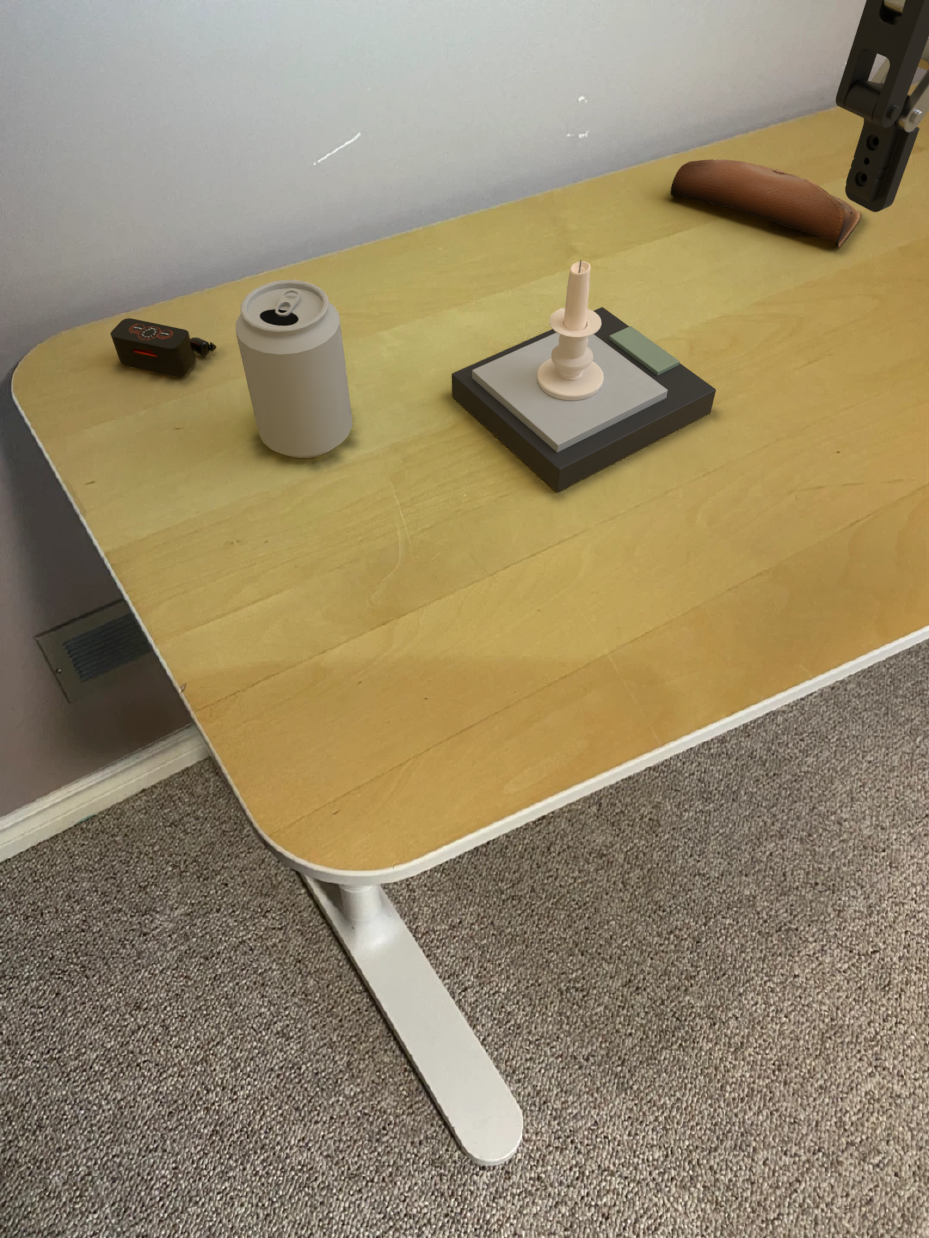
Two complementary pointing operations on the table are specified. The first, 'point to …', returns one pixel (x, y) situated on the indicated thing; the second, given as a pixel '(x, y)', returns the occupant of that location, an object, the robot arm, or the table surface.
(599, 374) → the candle
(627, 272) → the table surface
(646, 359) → the scale
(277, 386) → the can
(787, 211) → the sunglasses case
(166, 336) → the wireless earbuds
